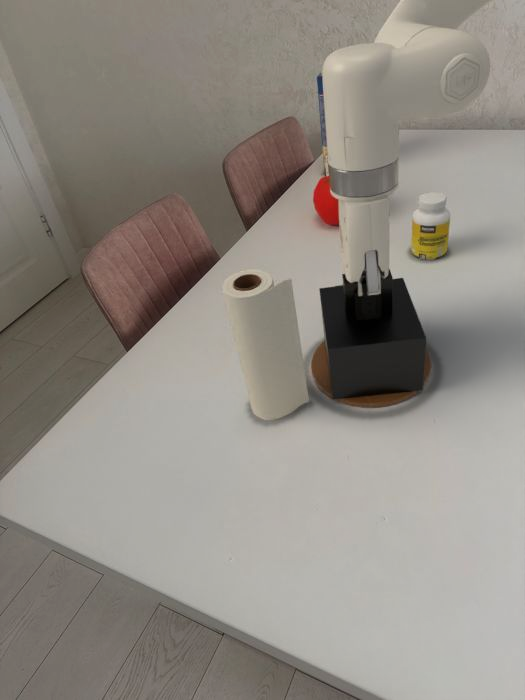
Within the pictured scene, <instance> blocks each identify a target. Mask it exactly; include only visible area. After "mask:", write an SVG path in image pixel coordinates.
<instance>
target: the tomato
mask: <svg viewBox="0 0 525 700" xmlns="http://www.w3.org/2000/svg"><path fill="white" fill-rule="evenodd" d="M312 196H313V197H312V203H313V206H314V210H315V212H316V213H317V215H318V217H319V218H320V219H321V221H322V222H324V223H325V224H327V225H329V226H338V227H339V199H336V198H335V197H333V196H332V195H331V193H330V182H329V176H322V177H321V178H320V179H319V180H318V182H317V183H316V185H315V187H314V190H313V195H312Z"/></svg>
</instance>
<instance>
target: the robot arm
mask: <svg viewBox="0 0 525 700" xmlns="http://www.w3.org/2000/svg"><path fill="white" fill-rule="evenodd" d="M492 1H493V0H400V1H399V2H398V3H397V5H396V6H395V8H394V9H393V11H392V12H391V13H390V15H389V16H388V18H387V19H386V21H385V22H384V24H383V25H382V27H381V28H380V30H379V32H378V34H376V37H375V39H374V41H373V42H367V43H358V44H353V45H348V46H344V47H341V48H338V49H336V50H334V51H333V52H331V53H330V54H328V56H326V58H325V60H324V62H323V65H322V70H321V71H322V79H323V94H324V109H325V123H326V137H327V151H328V167H329V182H330V193H331V195H332V196H333V197H335V198H336V199H339V226H338V229H339V251H340V257H341V262H342V267H343V271H344V274H345V276H346V279H347V280H348V281H349V282H350V283H353V282H357V293H355V302H356V318H357V320H359V321H360V320H369V319H378V318H380V317H381V278H380V276H381V277H383V279H385V278H386V277H387V276H388V273H389V269H390V242H391V241H390V239H391V238H390V215H391V214H390V197H389V196H391V195H392V194H394V193H395V192H396V191H397V190H398V188H399V176H400V175H399V173H400V171H399V169H400V128H401V127H400V125H401V123H402V122H405V121H418V120H431V119H441V118H445V117H446V118H447V117H451V116H453V115H455V114H458V113H460V112H461V111H463V110H466V109H467V108H468V107H470V106H471V105H472V104H473V103H474V102H475V101H476V100H477V99H478V98H479V97H480V95H481V94H482V93H483V91H484V90H485V88H486V86H487V84H488V80H489V77H490V72H491V60H490V55H489V52H488V50H487V48H486V46H485V45H484V42H482V41H481V40H480V39H479V38H477V37H476V36H475V35H473V34H472V33H469V32H468V31H464V30H460V29H459V28H460V27H461V26H462V24H464V22H466V21H467V20H468V19H469V18H470V17H471V16H473V15H474V14H476V12H478V11H479V10H480V9H482V8H483V7H484V6H487V4H489V3H491V2H492ZM363 271H364V272H363ZM362 280H366V284H363V286H362Z"/></svg>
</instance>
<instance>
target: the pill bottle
mask: <svg viewBox="0 0 525 700" xmlns="http://www.w3.org/2000/svg"><path fill="white" fill-rule="evenodd" d="M417 205H418V208H417V209H415V210H414V212H413V214H412V219H411V220H412V221H411V225H412V226H411V243H410V244H411V247H410V253H411V254H410V255H411V256H412V257H413V258H414V259H416V260H418V261H422V262H435V261H439V260H441V259H443V258H445V257H446V256H447V253H448V245H449V236H450V235H449V234H450V225H451V224H450V223H451V212H450V210H449V209H448V208H447V207H446V205H447V195H446V194H444V193H443V192H438V191H430V192H425V193H422V194H421V195H419V196H418V203H417Z"/></svg>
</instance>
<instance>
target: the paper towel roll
mask: <svg viewBox="0 0 525 700" xmlns="http://www.w3.org/2000/svg"><path fill="white" fill-rule="evenodd" d="M221 292H222V297H223V301H224V304H225V308H226V312H227V316H228V320H229V324H230V328H231V333H232V336H233V341H234V344H235V348H236V349H235V350H236V352H237V356H238V361H239V364H240V367H241V372H242V377H243V381H244V385H245V388H246V392H247V396H248V400H249V404H250V408H251V410H252V413H253V414H254V415H255V417H257V418H258V419H261V420H265V421H276V420H278V419H280V418H284V417H286V416H288V415H291V414H292V413H294V412H295V411H296V410H297V409H299V407H301V406H303V405H304V404H308V403H310V397H309V393H308V391H309V390H308V387H307V378H306V371H305V364H304V358H303V350H302V344H301V343H302V342H301V337H300V330H299V329H300V328H299V323H298V316H297V315H298V314H297V308H296V301H295V295H294V289H293V281H292V278H287V279H284V280H282V281H281V282H278V283H276V284H275V283H274V278H273V277H272V275H271V273H270V272H268V271H266V270H263V269H256V268H253V269H244V270H241V271H237V272H235V273H233V274H231V275H229V276H228V277H226V278H225V279H224V281H222V285H221Z"/></svg>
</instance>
